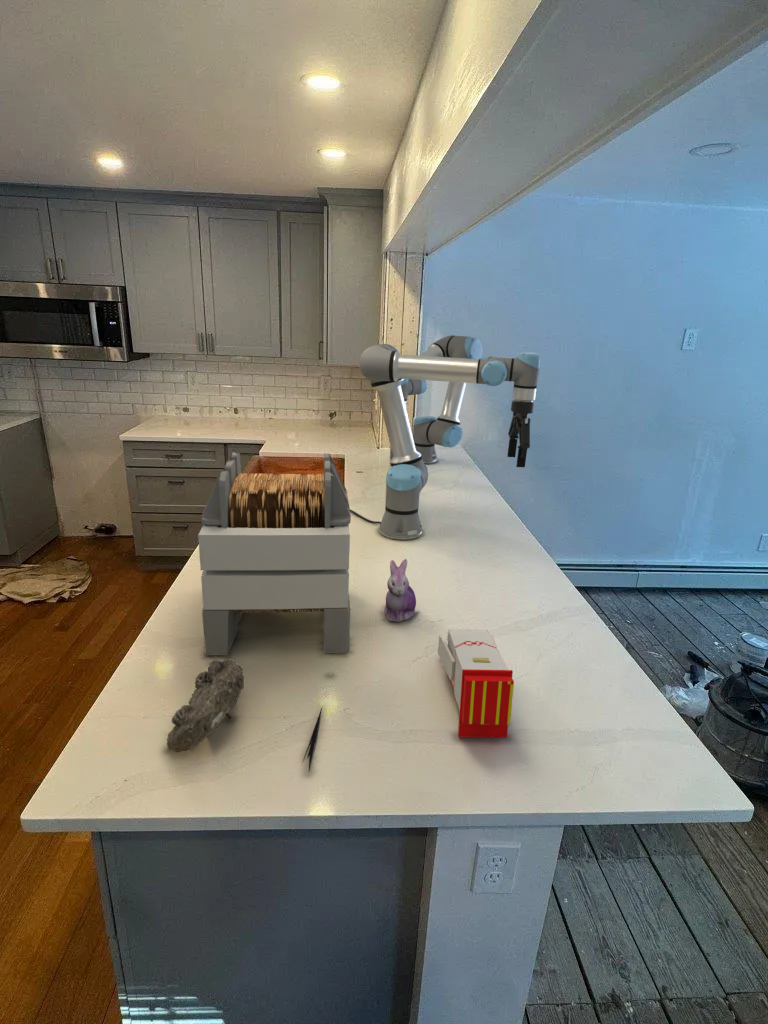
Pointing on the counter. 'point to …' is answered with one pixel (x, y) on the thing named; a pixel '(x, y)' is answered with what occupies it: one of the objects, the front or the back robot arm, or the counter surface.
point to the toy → (478, 682)
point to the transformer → (275, 551)
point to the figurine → (399, 594)
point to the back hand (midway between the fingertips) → (396, 459)
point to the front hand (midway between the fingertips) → (515, 461)
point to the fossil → (206, 705)
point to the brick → (391, 454)
